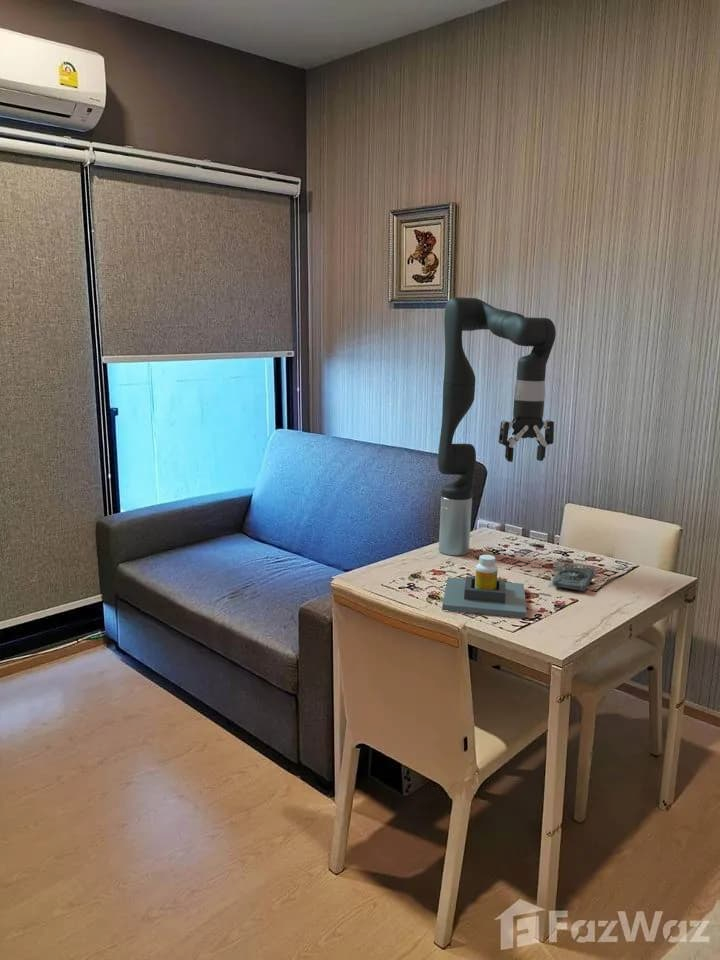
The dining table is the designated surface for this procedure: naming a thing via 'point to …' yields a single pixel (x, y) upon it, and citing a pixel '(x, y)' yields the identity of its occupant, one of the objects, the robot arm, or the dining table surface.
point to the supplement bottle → (486, 573)
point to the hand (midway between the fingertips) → (524, 460)
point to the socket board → (485, 598)
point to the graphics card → (573, 576)
